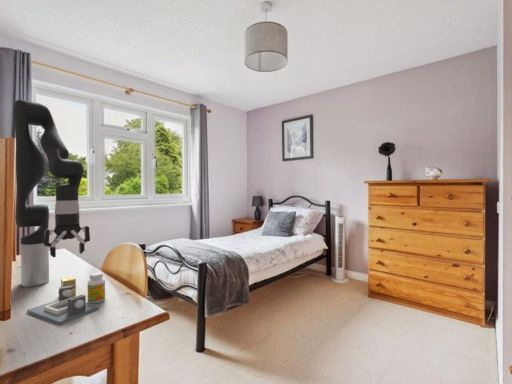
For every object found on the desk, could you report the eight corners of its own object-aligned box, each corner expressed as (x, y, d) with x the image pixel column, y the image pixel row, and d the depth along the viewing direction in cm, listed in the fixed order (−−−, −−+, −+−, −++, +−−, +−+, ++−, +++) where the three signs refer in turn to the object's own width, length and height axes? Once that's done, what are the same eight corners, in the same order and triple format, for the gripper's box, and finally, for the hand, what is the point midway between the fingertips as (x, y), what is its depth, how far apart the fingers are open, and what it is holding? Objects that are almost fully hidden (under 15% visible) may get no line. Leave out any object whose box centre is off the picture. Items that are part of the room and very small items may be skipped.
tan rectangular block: (63, 297, 101) (62, 281, 101) (60, 294, 104) (60, 278, 104) (76, 294, 104) (75, 278, 104) (73, 291, 107) (73, 276, 107)
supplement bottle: (85, 304, 95) (85, 276, 95) (90, 298, 101) (90, 272, 100) (102, 302, 97) (102, 275, 97) (106, 296, 102) (106, 270, 102)
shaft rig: (27, 312, 89) (27, 295, 89) (66, 299, 100) (66, 283, 100) (59, 325, 81) (59, 305, 81) (98, 309, 92) (98, 291, 92)
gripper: (45, 214, 96) (45, 260, 96) (91, 211, 106) (91, 253, 106) (42, 212, 101) (42, 256, 101) (86, 210, 111) (87, 250, 111)
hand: (67, 255), depth 104 cm, fingers open, 8 cm apart
